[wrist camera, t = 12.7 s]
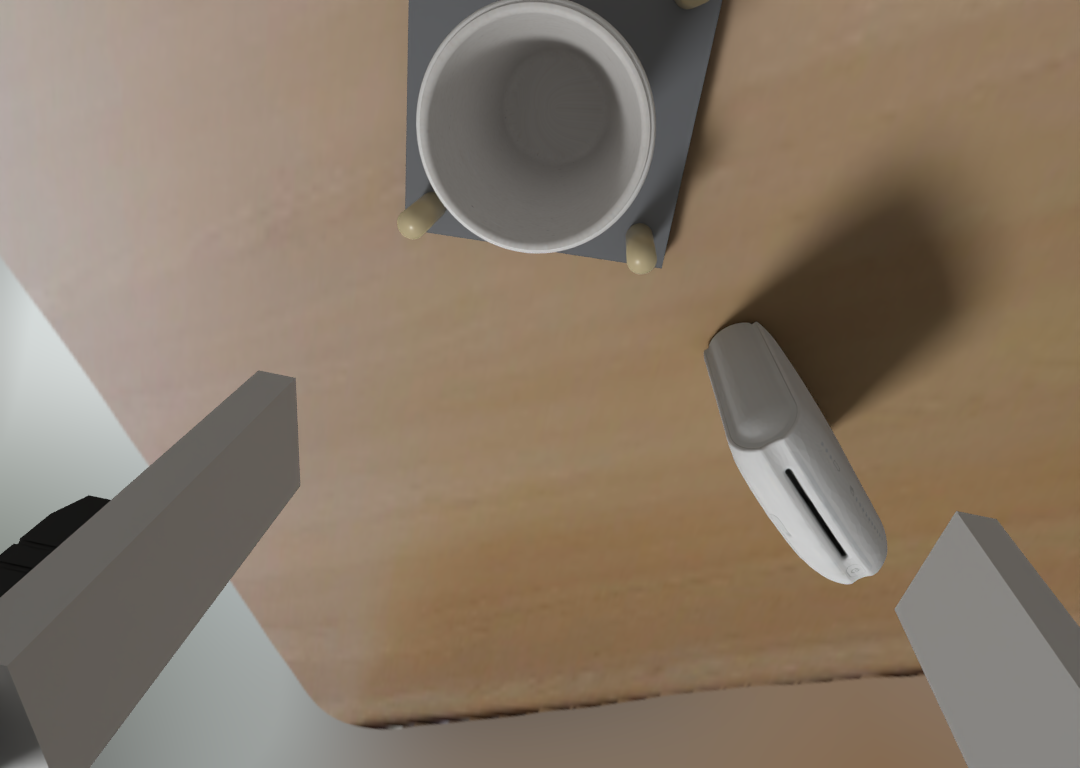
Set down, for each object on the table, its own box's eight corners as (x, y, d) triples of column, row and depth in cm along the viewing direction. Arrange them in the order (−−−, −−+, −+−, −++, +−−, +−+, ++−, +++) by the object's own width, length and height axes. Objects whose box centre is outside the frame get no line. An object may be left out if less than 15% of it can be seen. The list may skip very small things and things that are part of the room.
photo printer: (837, 434, 39) (921, 585, 28) (772, 464, 40) (829, 618, 30) (758, 305, 36) (820, 421, 25) (691, 343, 37) (721, 468, 26)
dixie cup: (469, 5, 29) (405, -10, 20) (654, 10, 28) (672, -2, 19) (473, 192, 33) (421, 248, 24) (634, 201, 32) (642, 262, 23)
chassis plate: (727, -42, 28) (749, -59, 23) (659, 259, 35) (666, 294, 30) (419, -84, 28) (379, -109, 24) (412, 222, 35) (380, 250, 31)
